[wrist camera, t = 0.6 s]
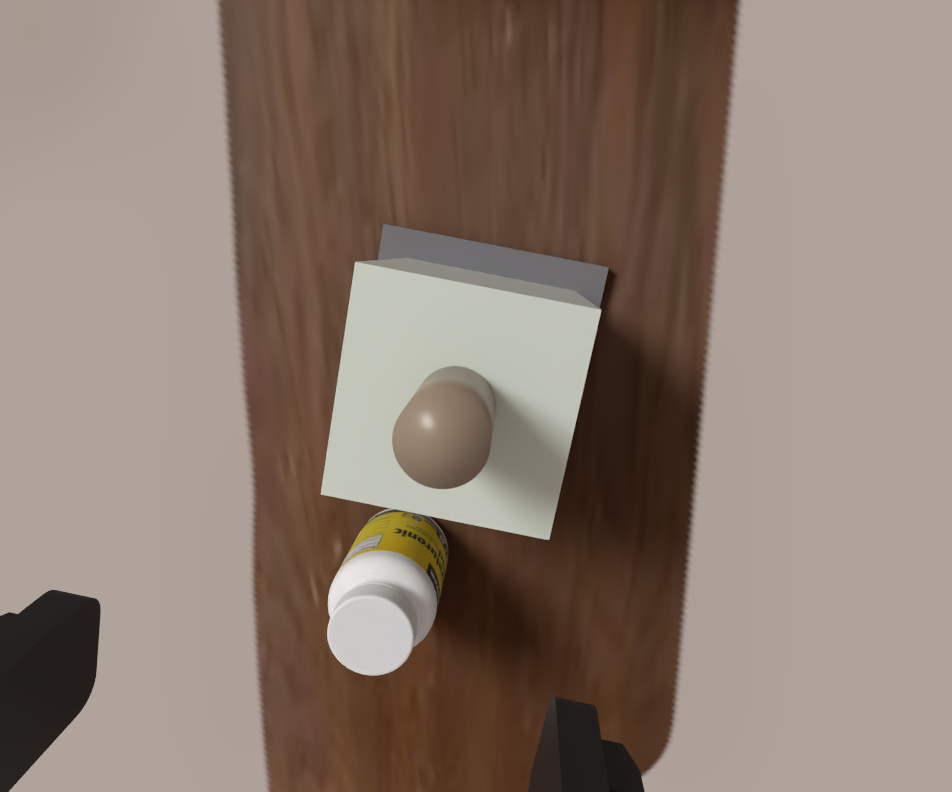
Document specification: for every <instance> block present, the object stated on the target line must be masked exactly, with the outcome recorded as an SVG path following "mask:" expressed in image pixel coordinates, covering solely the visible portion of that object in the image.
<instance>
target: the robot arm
mask: <svg viewBox="0 0 952 792" xmlns="http://www.w3.org/2000/svg"><path fill="white" fill-rule="evenodd" d="M99 626H100V604H99V601H98V600H97V599H95V598H90V597H86V596H80V595H76V594H71V593H67V592H62V591H57V590H50V591H48V592H46V593H45V594H43V595H42V596H41V597H39V598H38V599H37V600H35V601H34V602H33V603H32V604H30V605H29V606H28V607H26V608H25V609H24V610H23V611H21V612H20V613H19V614H14V613H10V612H9V613H7V614H4V615H2V616H0V792H9V790H10V789H11V788H12V787H13V786H14V785H15V784H16V783H17V781H18V780H19V779H20V778H21V777H22V776H23V775H24V774H25V773H26V772H27V771H28V769H29V768H30V767H31V766H32V765H33V764H34V763H35V762H36V761H37V759H38V758H39V757H40V756H41V755H42V754H43V753H44V751H46V749H47V748H48V747H49V746H50V745H51V744H52V743H53V742H54V740H56V738H57V737H58V736H59V735H60V734H61V733H62V732H63V731H64V729H65V728H66V727H67V726H68V725H69V724H70V723H71V722H72V721H73V719H74V718H75V717H76V716H77V715H78V714H79V713H80V711H81V710H82V709H83V707H84V705H85V704H86V702H87V700H88V698H89V696H90V694H91V691H92V688H93V686H94V682H95V678H96V668H97V655H98V639H99ZM528 792H644V788H643V783H642V778H641V774H640V770H639V768H638V767H637V765H636V764H635V762H634V761H633V759H632V758H631V756H630V755H629V753H628V752H627V750H626V749H625V747H624V746H623V744H621V743H616V742H611V741H607V740H602V739H601V734H600V728H599V722H598V715H597V710H596V707H595V706H594V705H590V704H586V703H581V702H576V701H571V700H567V699H562V698H557V697H552V698H551V700H550V703H549V706H548V710H547V713H546V717H545V721H544V725H543V729H542V733H541V737H540V740H539V744H538V748H537V752H536V756H535V760H534V764H533V768H532V772H531V777H530V783H529V790H528Z"/></svg>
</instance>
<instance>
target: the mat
mask: <svg viewBox="0 0 952 792" xmlns="http://www.w3.org/2000/svg"><path fill="white" fill-rule="evenodd" d="M399 258H410V259H415V260H420V261H425V262H430V263H436V264H441V265H446V266H451V267H456V268H461V269H466V270H472V271H477V272H482V273H487V274H492V275H497V276H502V277H508V278H513V279H518V280H523V281H528V282H533V283H538V284H543V285H549V286H554V287H559V288H564V289H569V290H574V291H576V292H577V293H579V294H580V295H581V296H583V297H584V298H586V299H587V300H588V301H590V302H591V303H593V304H594V305H596V306H597V307H598V308H600V304H601V300H602V296H603V291H604V287H605V282H606V278H607V274H608V269H609V267H604V266H599V265H594V264H588V263H583V262H578V261H573V260H568V259H563V258H557V257H552V256H547V255H542V254H537V253H532V252H526V251H521V250H516V249H511V248H506V247H501V246H496V245H490V244H485V243H480V242H475V241H470V240H465V239H459V238H454V237H449V236H444V235H439V234H434V233H428V232H423V231H418V230H413V229H408V228H403V227H398V226H392V225H387V224H383V230H382V237H381V243H380V250H379V256H378V260H386V259H399Z"/></svg>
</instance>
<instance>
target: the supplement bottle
mask: <svg viewBox="0 0 952 792" xmlns="http://www.w3.org/2000/svg"><path fill="white" fill-rule="evenodd" d="M447 561H448V545H447V541H446V538H445V535H444V533H443V531H442V530H441V528H440V527H439V525H438V524H437V523H436V522H435V521H434V520H433V519H432V518H431V517H429V516H426V515H421V514H416V513H411V512H406V511H401V510H396V509H387V510H384V511H382V512H380V513H378V514H376V515H375V516H373V517H372V518H371V519H370V520H369V521H368V522H367V523H366V524H365V526H364V527H363V528H362V529H361V531H360V533H359V535H358V537H357V538H356V540H355V542H354V544H353V546H352V547H351V549H350V551H349V553H348V554H347V556H346V558H345V560H344V562H343V564H342V565H341V567H340V569H339V571H338V572H337V574H336V576H335V578H334V580H333V582H332V585H331V588H330V591H329V596H328V610H329V615H330V620H329V624H328V630H327V636H328V642H329V646H330V648H331V650H332V652H333V654H334V655H335V657H336V658H337V659H338V660H339V661H340V663H342V664H343V665H344V666H345V667H347V668H348V669H350V670H352V671H354V672H357V673H360V674H364V675H371V676H374V675H382V674H386V673H389V672H392V671H394V670H395V669H397V668H398V667H400V666H401V665H402V664H403V663H404V662H405V661H406V660H407V658H408V657H409V655H410V653H411V651H412V649H413V647H414V646H416V645H417V644H418V643H419V642H421V641H422V640H423V639H424V638H425V636H426V635H427V634H428V632H429V630H430V629H431V627H432V624H433V622H434V619H435V616H436V612H437V608H438V603H439V599H440V594H441V590H442V585H443V581H444V576H445V572H446V568H447Z"/></svg>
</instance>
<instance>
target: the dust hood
mask: <svg viewBox="0 0 952 792" xmlns="http://www.w3.org/2000/svg"><path fill="white" fill-rule="evenodd" d="M600 315H601V309H600V308H598V307H597V306H596V305H594V304H593V303H591V302H590V301H588V300H587V299H586V298H584V297H583V296H581V295H580V294H579V293H577V292H576V291H574V290H569V289H564V288H559V287H554V286H549V285H543V284H538V283H533V282H528V281H523V280H518V279H513V278H508V277H502V276H497V275H492V274H487V273H482V272H477V271H472V270H466V269H461V268H456V267H451V266H446V265H441V264H436V263H430V262H425V261H420V260H415V259H410V258H399V259H386V260H372V261H359V262H355V267H354V274H353V281H352V288H351V294H350V301H349V308H348V314H347V321H346V328H345V335H344V341H343V348H342V355H341V361H340V368H339V375H338V382H337V388H336V395H335V402H334V408H333V415H332V422H331V428H330V435H329V442H328V449H327V455H326V462H325V469H324V475H323V482H322V489H321V494H322V495H327V496H332V497H337V498H342V499H346V500H351V501H356V502H361V503H366V504H371V505H376V506H381V507H386V508H391V509H396V510H401V511H406V512H411V513H416V514H421V515H426V516H431V517H436V518H441V519H446V520H451V521H456V522H461V523H466V524H471V525H476V526H481V527H486V528H491V529H496V530H501V531H506V532H511V533H516V534H521V535H526V536H531V537H536V538H541V539H546V540H549V538H550V534H551V530H552V525H553V521H554V517H555V512H556V508H557V503H558V499H559V495H560V490H561V486H562V481H563V477H564V473H565V468H566V464H567V459H568V455H569V451H570V446H571V442H572V437H573V433H574V429H575V424H576V420H577V416H578V411H579V407H580V402H581V398H582V394H583V389H584V385H585V380H586V376H587V372H588V367H589V363H590V358H591V354H592V350H593V345H594V341H595V336H596V332H597V328H598V323H599V319H600Z"/></svg>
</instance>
